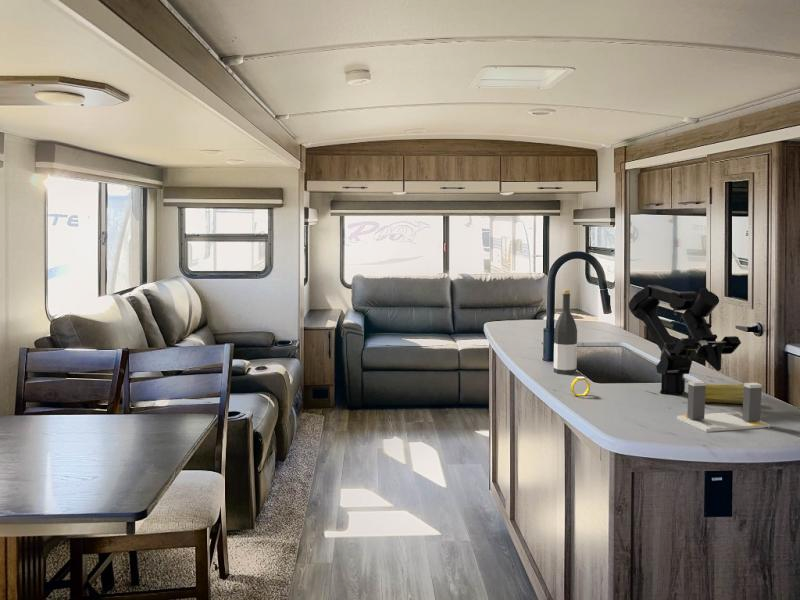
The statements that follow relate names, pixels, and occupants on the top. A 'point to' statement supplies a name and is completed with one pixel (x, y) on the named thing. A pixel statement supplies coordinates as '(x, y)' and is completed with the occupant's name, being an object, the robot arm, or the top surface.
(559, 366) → the wine bottle
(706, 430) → the switch board
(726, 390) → the vase
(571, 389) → the yellow ring
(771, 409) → the top surface
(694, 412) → the switch
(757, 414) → the switch
